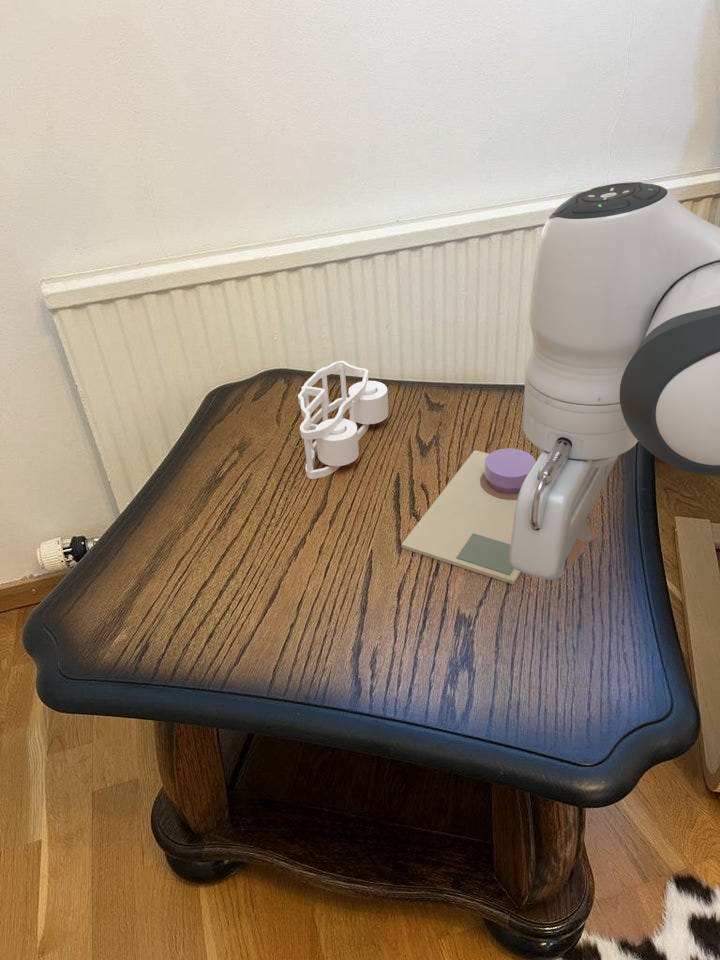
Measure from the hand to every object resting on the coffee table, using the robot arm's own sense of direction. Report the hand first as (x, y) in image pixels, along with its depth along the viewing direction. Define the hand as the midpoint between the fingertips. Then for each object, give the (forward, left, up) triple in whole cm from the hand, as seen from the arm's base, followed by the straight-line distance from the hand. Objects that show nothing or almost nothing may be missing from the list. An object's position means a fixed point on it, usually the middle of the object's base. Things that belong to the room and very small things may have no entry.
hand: (565, 548), depth 65 cm
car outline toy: (+40, -26, -15) cm, 50 cm away
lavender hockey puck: (+14, -26, -14) cm, 33 cm away
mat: (+14, -20, -15) cm, 29 cm away
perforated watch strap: (0, 0, -2) cm, 2 cm away
